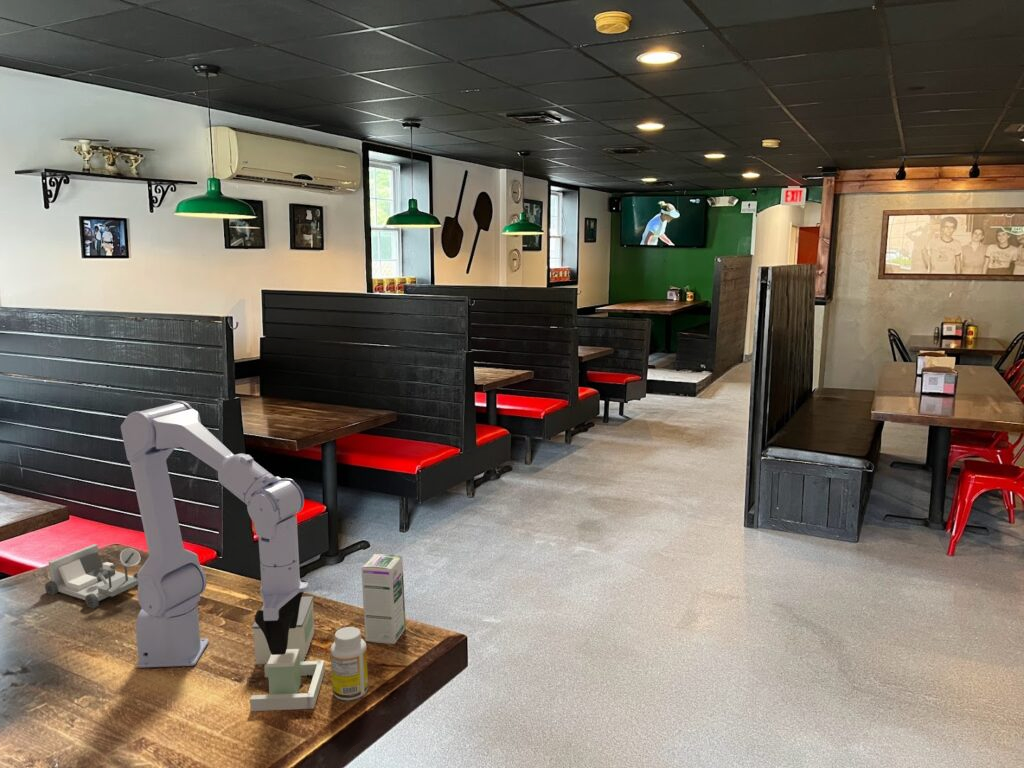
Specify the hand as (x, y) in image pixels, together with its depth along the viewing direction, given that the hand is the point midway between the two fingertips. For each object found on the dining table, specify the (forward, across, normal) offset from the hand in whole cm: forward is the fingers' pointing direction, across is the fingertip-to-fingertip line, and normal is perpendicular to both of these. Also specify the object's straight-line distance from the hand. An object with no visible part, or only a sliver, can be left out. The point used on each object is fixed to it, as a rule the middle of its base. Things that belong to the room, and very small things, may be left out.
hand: (284, 640), depth 119 cm
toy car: (+10, +38, +45) cm, 60 cm away
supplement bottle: (+9, -1, -10) cm, 14 cm away
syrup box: (+9, +16, -14) cm, 23 cm away
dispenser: (+9, +13, +3) cm, 16 cm away
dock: (+9, 0, 0) cm, 9 cm away
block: (+9, 0, 0) cm, 9 cm away
